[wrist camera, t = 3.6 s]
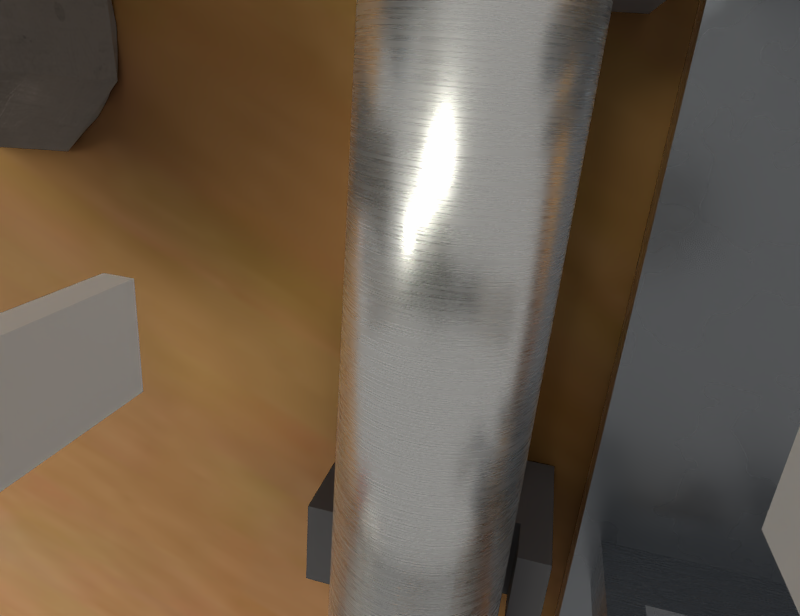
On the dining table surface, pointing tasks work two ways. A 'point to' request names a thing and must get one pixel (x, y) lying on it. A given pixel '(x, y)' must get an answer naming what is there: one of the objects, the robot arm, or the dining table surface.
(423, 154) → the tube
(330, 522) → the rest chocks
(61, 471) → the dining table surface
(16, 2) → the coffeepot
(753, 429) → the grey tube stand
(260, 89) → the dining table surface
